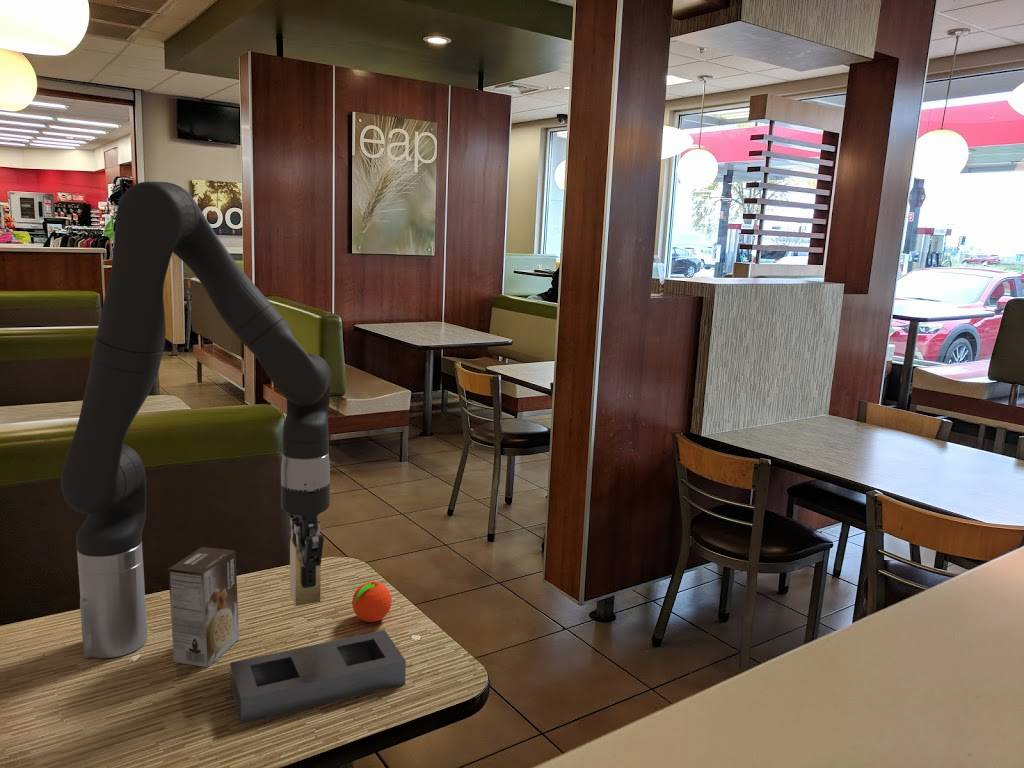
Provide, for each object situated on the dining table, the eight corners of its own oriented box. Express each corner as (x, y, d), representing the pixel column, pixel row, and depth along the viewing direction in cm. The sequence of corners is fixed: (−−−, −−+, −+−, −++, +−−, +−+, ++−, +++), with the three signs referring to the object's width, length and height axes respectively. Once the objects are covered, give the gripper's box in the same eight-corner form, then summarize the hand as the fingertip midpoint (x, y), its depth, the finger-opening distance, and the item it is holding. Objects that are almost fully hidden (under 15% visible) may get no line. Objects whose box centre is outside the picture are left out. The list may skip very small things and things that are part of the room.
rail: (241, 724, 107) (240, 698, 106) (231, 686, 116) (230, 662, 115) (405, 684, 118) (405, 660, 118) (384, 652, 127) (384, 629, 126)
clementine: (368, 636, 132) (369, 597, 131) (339, 624, 136) (339, 586, 134) (399, 617, 139) (400, 581, 137) (370, 606, 142) (370, 570, 141)
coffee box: (205, 634, 130) (202, 545, 127) (240, 639, 129) (237, 549, 126) (171, 663, 122) (167, 567, 118) (208, 668, 120) (204, 573, 117)
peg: (295, 606, 124) (295, 547, 122) (290, 595, 127) (290, 538, 125) (320, 601, 126) (320, 544, 124) (314, 591, 129) (314, 535, 127)
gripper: (272, 469, 127) (272, 566, 130) (291, 497, 115) (291, 604, 118) (318, 465, 130) (317, 560, 134) (341, 491, 118) (339, 595, 122)
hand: (305, 580), depth 126 cm, fingers closed on peg, 4 cm apart
